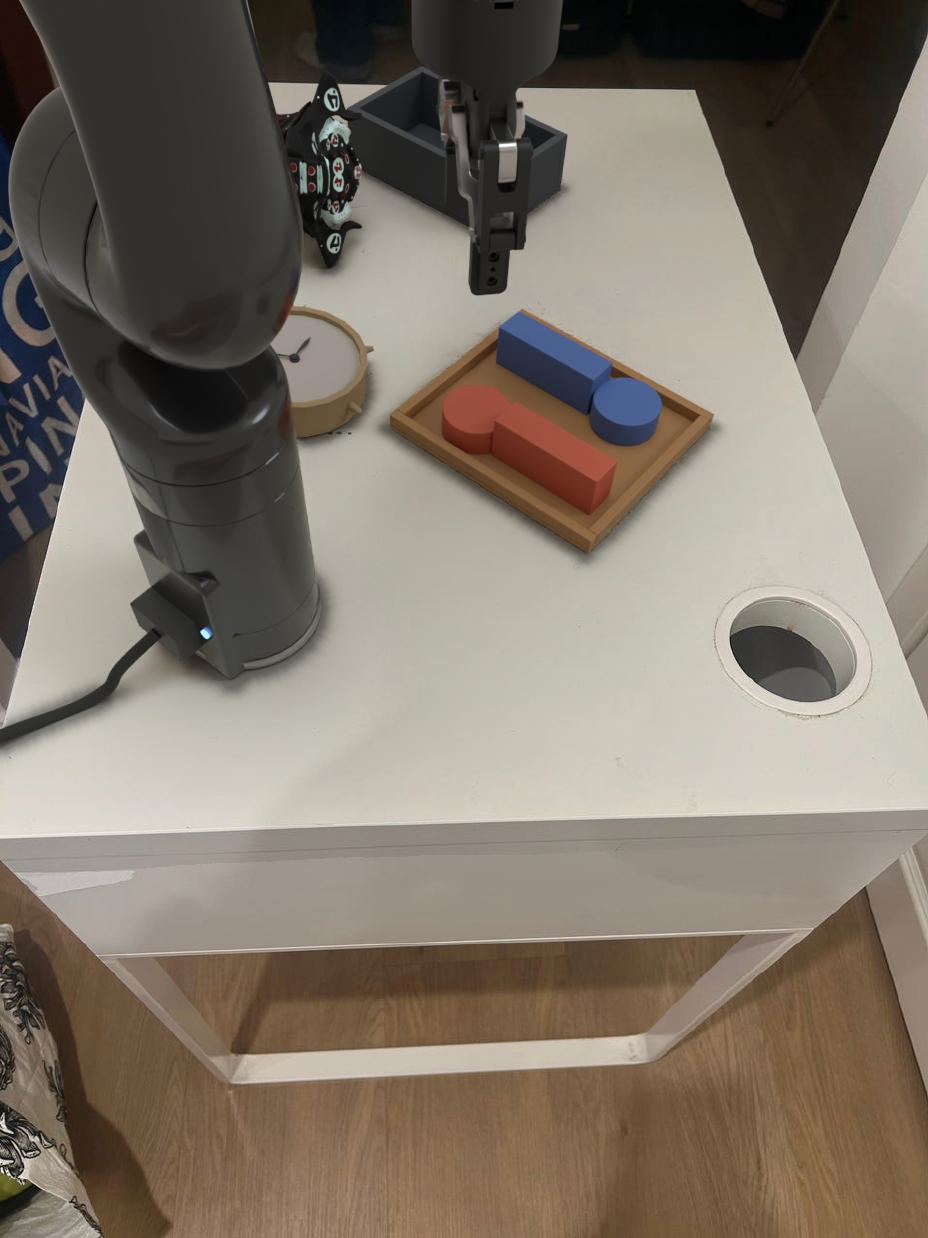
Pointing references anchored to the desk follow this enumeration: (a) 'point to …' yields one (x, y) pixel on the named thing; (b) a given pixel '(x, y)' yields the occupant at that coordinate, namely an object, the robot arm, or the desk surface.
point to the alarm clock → (322, 369)
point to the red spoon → (527, 445)
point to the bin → (435, 144)
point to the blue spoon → (579, 380)
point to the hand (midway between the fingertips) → (474, 246)
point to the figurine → (323, 166)
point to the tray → (634, 463)
